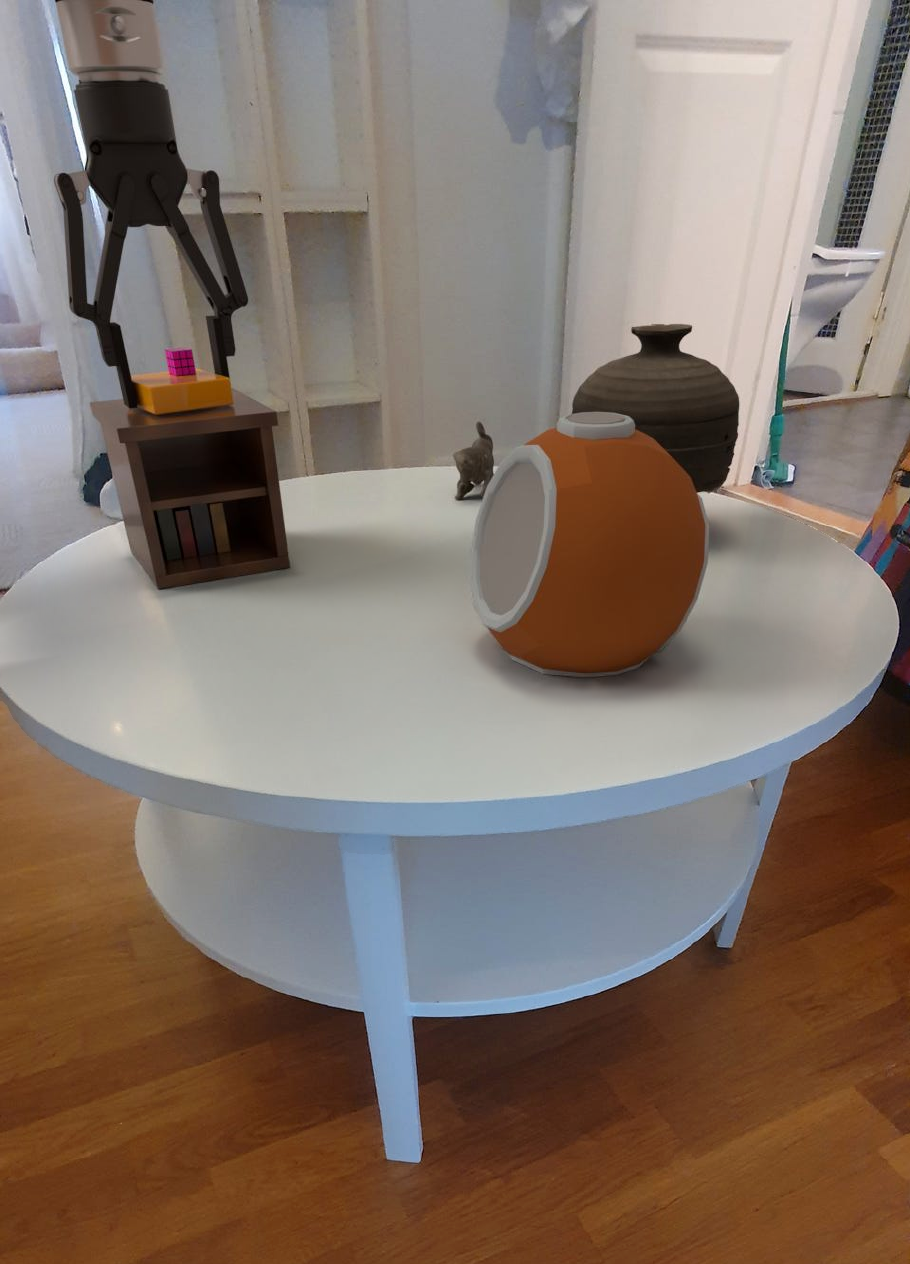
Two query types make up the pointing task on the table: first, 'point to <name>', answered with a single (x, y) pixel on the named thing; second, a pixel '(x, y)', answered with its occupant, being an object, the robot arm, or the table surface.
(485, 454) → the grey cat figurine
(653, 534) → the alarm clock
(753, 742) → the table surface
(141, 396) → the orange slab with cube
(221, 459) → the bookcase
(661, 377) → the pot
